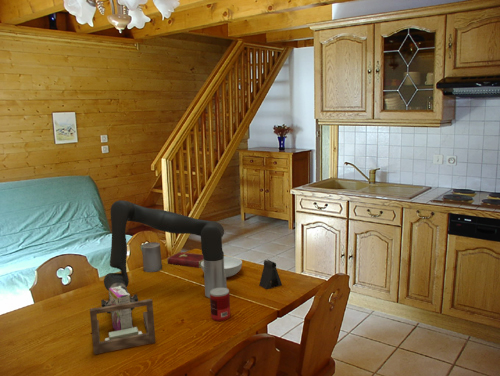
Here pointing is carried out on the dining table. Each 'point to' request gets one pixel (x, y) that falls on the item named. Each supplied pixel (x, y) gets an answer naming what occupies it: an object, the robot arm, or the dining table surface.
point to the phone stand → (270, 276)
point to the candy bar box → (120, 317)
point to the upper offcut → (123, 333)
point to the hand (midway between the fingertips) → (121, 309)
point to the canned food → (220, 304)
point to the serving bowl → (229, 265)
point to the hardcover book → (186, 259)
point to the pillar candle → (151, 257)
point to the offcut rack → (125, 341)
